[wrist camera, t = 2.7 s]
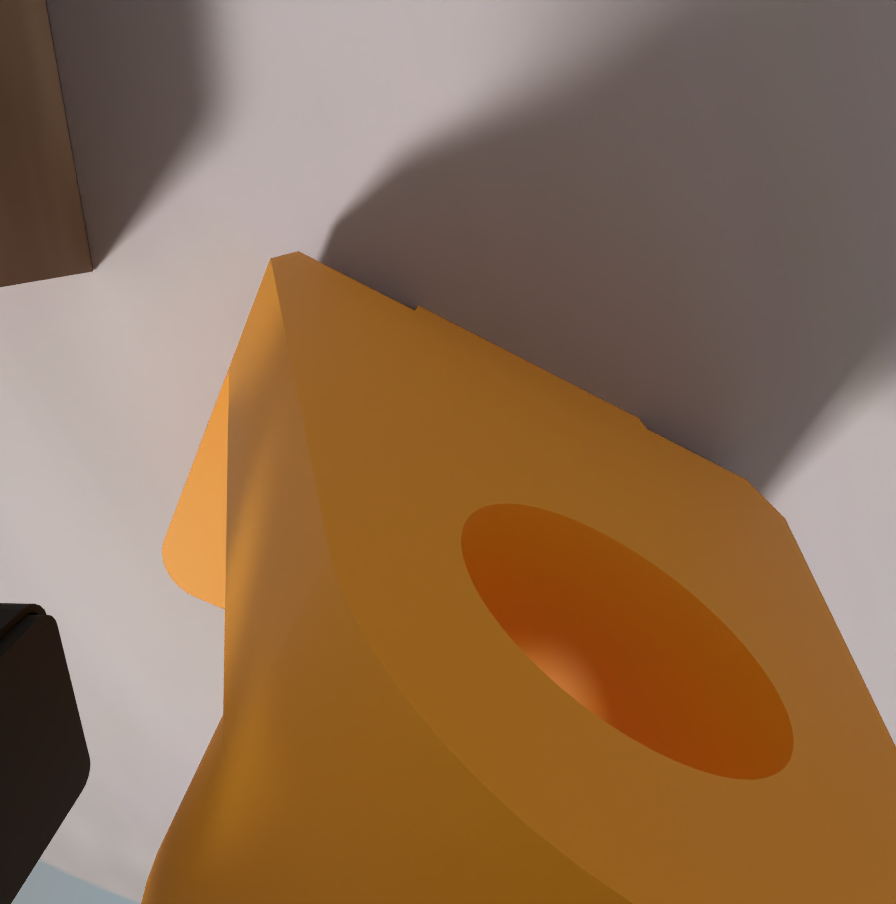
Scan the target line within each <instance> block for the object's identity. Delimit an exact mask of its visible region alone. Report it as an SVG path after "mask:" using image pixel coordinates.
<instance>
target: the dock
mask: <svg viewBox="0 0 896 904" xmlns="http://www.w3.org/2000/svg"><path fill="white" fill-rule="evenodd" d="M92 271H93V269H92V264H91V258H90V252H89V246H88V241H87V235H86V229H85V224H84V218H83V212H82V207H81V201H80V195H79V190H78V184H77V178H76V172H75V167H74V161H73V155H72V150H71V144H70V138H69V133H68V127H67V121H66V115H65V110H64V104H63V98H62V93H61V87H60V81H59V76H58V70H57V64H56V59H55V53H54V47H53V41H52V36H51V30H50V24H49V19H48V13H47V7H46V2H45V0H0V287H4V286H10V285H16V284H21V283H27V282H33V281H39V280H45V279H51V278H57V277H62V276H68V275H74V274H80V273H86V272H92Z"/></svg>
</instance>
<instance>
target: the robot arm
mask: <svg viewBox="0 0 896 904" xmlns="http://www.w3.org/2000/svg"><path fill="white" fill-rule="evenodd" d="M89 771H90V757H89V753H88V749H87V745H86V741H85V737H84V733H83V729H82V725H81V720H80V716H79V712H78V708H77V704H76V700H75V696H74V692H73V687H72V683H71V679H70V675H69V671H68V667H67V663H66V659H65V655H64V650H63V646H62V642H61V638H60V634H59V630H58V626H57V623H56V620H55V619H54V618H53V617H52V616H50V615H46V612H45V610H44V609H43V608H42V607H41V606H40V605H36V604H13V603H0V904H11V903H12V901H13V899H14V898H15V896H16V895H17V893H18V892H19V890H20V888H21V887H22V885H23V884H24V882H25V881H26V879H27V877H28V876H29V874H30V873H31V871H32V869H33V868H34V866H35V865H36V863H37V862H38V860H39V858H40V857H41V855H42V854H43V852H44V850H45V849H46V847H47V846H48V844H49V843H50V841H51V839H52V838H53V836H54V835H55V833H56V831H57V830H58V828H59V827H60V825H61V824H62V822H63V820H64V819H65V817H66V816H67V814H68V813H69V811H70V809H71V808H72V806H73V805H74V803H75V801H76V800H77V798H78V797H79V795H80V794H81V792H82V790H83V788H84V786H85V785H86V782H87V779H88V776H89Z"/></svg>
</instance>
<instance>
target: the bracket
mask: <svg viewBox="0 0 896 904" xmlns="http://www.w3.org/2000/svg"><path fill="white" fill-rule="evenodd" d="M162 557H163V562H164V565H165V568H166V570H167V572H168V574H169V575H170V577H171V578H172V579H173V581H174V582H175V583H176V584H177V585H178V586H179V587H180V588H182V589H183V590H184V591H186V592H187V593H189V594H191V595H192V596H195V597H197V598H199V599H201V600H204V601H206V602H209V603H211V604H213V605H216V606H218V607H220V608H223V609H225V646H224V708H223V716H222V718H221V720H220V722H219V725H218V727H217V729H216V731H215V733H214V735H213V737H212V739H211V741H210V743H209V746H208V748H207V750H206V752H205V754H204V756H203V758H202V760H201V762H200V764H199V767H198V769H197V771H196V773H195V775H194V777H193V779H192V781H191V783H190V785H189V788H188V790H187V792H186V794H185V796H184V798H183V800H182V802H181V804H180V806H179V809H178V811H177V813H176V815H175V817H174V819H173V821H172V823H171V825H170V827H169V830H168V832H167V834H166V836H165V838H164V840H163V842H162V844H161V846H160V848H159V851H158V853H157V855H156V858H155V861H154V864H153V866H152V869H151V872H150V875H149V877H148V880H147V883H146V887H145V891H144V895H143V899H142V903H141V904H896V746H895V744H894V742H893V740H892V738H891V736H890V734H889V732H888V730H887V728H886V726H885V724H884V722H883V720H882V718H881V716H880V713H879V711H878V709H877V707H876V705H875V703H874V701H873V699H872V697H871V695H870V693H869V691H868V689H867V687H866V685H865V682H864V680H863V678H862V676H861V674H860V672H859V670H858V668H857V666H856V664H855V662H854V660H853V658H852V656H851V654H850V652H849V649H848V647H847V645H846V643H845V641H844V639H843V637H842V635H841V633H840V631H839V629H838V627H837V625H836V623H835V621H834V618H833V616H832V614H831V612H830V610H829V608H828V606H827V604H826V602H825V600H824V598H823V596H822V594H821V592H820V590H819V588H818V585H817V583H816V581H815V579H814V577H813V575H812V573H811V571H810V569H809V567H808V565H807V563H806V561H805V559H804V557H803V554H802V552H801V550H800V548H799V546H798V544H797V542H796V540H795V538H794V536H793V534H792V532H791V530H790V528H789V526H788V524H787V521H786V519H785V518H784V517H783V516H782V515H781V514H780V513H779V512H778V511H777V510H776V509H775V508H774V507H773V506H772V505H771V504H770V503H769V502H768V501H767V500H766V499H765V498H764V497H763V496H762V495H761V494H760V493H759V492H758V491H757V490H756V489H755V488H754V487H753V486H752V485H751V484H750V483H749V482H748V481H747V480H746V479H744V478H742V477H740V476H738V475H736V474H734V473H732V472H730V471H728V470H726V469H724V468H722V467H720V466H718V465H716V464H715V463H713V462H711V461H709V460H707V459H705V458H703V457H701V456H699V455H697V454H695V453H693V452H691V451H689V450H687V449H685V448H683V447H681V446H679V445H677V444H675V443H673V442H671V441H669V440H667V439H666V438H664V437H662V436H660V435H658V434H656V433H654V432H652V431H650V430H648V429H647V428H646V427H645V426H644V424H643V423H642V422H641V420H640V419H639V418H638V417H636V416H634V415H632V414H630V413H628V412H626V411H624V410H622V409H620V408H618V407H616V406H614V405H612V404H610V403H608V402H606V401H604V400H602V399H600V398H598V397H596V396H594V395H593V394H591V393H589V392H587V391H585V390H583V389H581V388H579V387H577V386H575V385H573V384H571V383H569V382H567V381H565V380H563V379H561V378H559V377H557V376H555V375H553V374H551V373H550V372H548V371H546V370H544V369H542V368H540V367H538V366H536V365H534V364H532V363H530V362H528V361H526V360H524V359H522V358H520V357H518V356H516V355H514V354H512V353H510V352H508V351H506V350H505V349H503V348H501V347H499V346H497V345H495V344H493V343H491V342H489V341H487V340H485V339H483V338H481V337H479V336H477V335H475V334H473V333H471V332H469V331H467V330H465V329H463V328H461V327H460V326H458V325H456V324H454V323H452V322H450V321H448V320H446V319H444V318H442V317H440V316H438V315H436V314H434V313H432V312H430V311H428V310H426V309H424V308H422V307H420V306H418V307H417V308H416V310H415V311H414V310H413V309H411V308H409V307H407V306H405V305H403V304H401V303H399V302H397V301H395V300H393V299H391V298H389V297H387V296H385V295H383V294H381V293H379V292H377V291H375V290H373V289H371V288H369V287H367V286H365V285H364V284H362V283H360V282H358V281H356V280H354V279H352V278H350V277H348V276H346V275H344V274H342V273H340V272H338V271H336V270H334V269H332V268H330V267H328V266H326V265H324V264H322V263H320V262H318V261H316V260H314V259H313V258H311V257H309V256H307V255H305V254H303V253H301V252H299V251H298V252H294V253H290V254H286V255H282V256H279V257H275V258H271V259H270V261H269V264H268V267H267V269H266V272H265V274H264V277H263V280H262V282H261V285H260V288H259V290H258V293H257V296H256V298H255V301H254V304H253V306H252V309H251V312H250V314H249V317H248V319H247V322H246V325H245V327H244V330H243V333H242V335H241V338H240V341H239V343H238V346H237V349H236V351H235V354H234V357H233V359H232V362H231V364H230V367H229V370H228V372H227V375H226V378H225V380H224V383H223V386H222V388H221V391H220V394H219V396H218V399H217V402H216V404H215V407H214V409H213V412H212V415H211V417H210V420H209V423H208V425H207V428H206V431H205V433H204V436H203V439H202V441H201V444H200V447H199V449H198V452H197V454H196V457H195V460H194V462H193V465H192V468H191V470H190V473H189V476H188V478H187V481H186V484H185V486H184V489H183V492H182V494H181V497H180V499H179V502H178V505H177V507H176V510H175V513H174V515H173V518H172V521H171V523H170V526H169V529H168V531H167V534H166V536H165V539H164V542H163V547H162Z"/></svg>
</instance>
